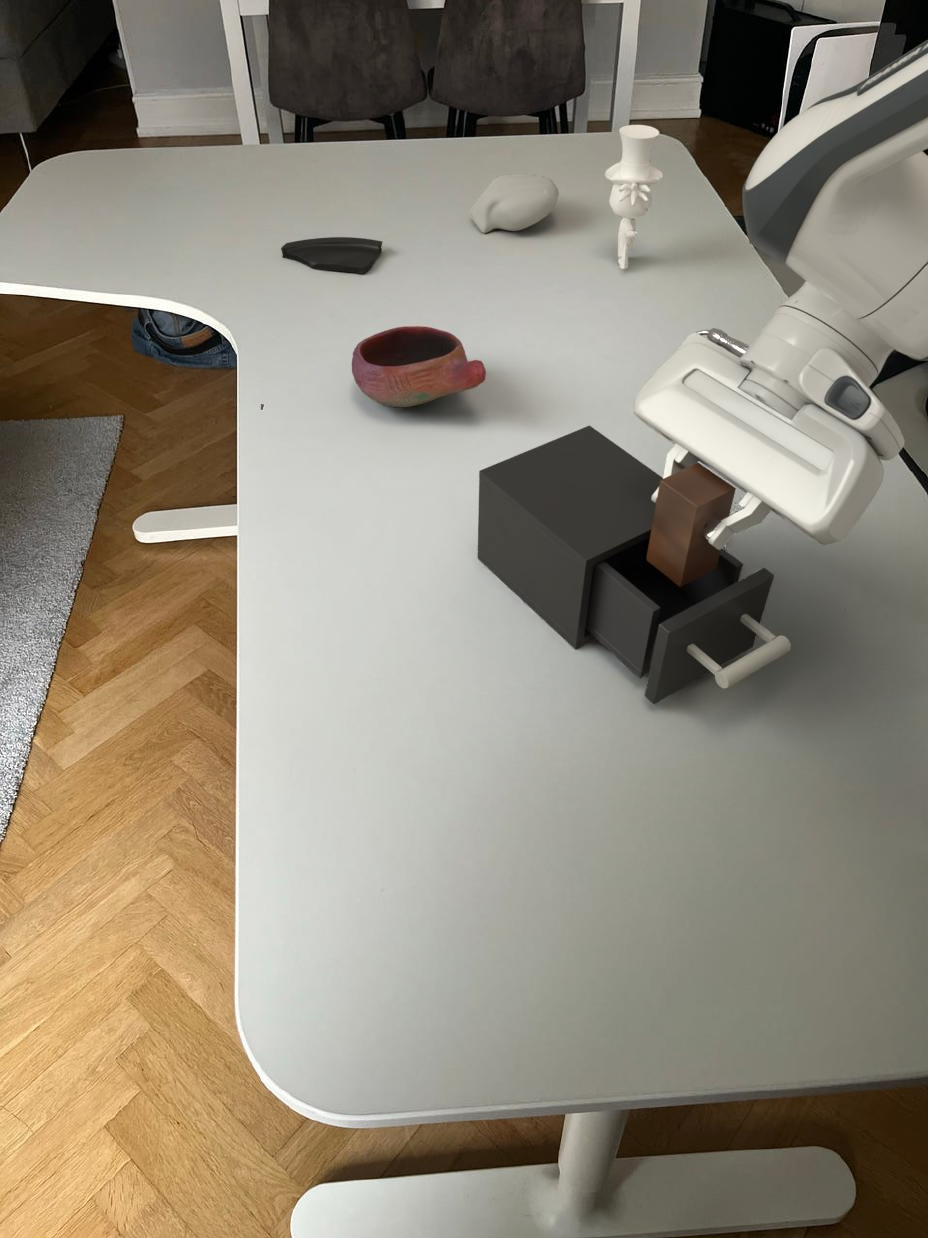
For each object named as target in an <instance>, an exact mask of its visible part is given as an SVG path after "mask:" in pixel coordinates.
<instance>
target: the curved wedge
mask: <svg viewBox="0 0 928 1238" xmlns="http://www.w3.org/2000/svg"><path fill="white" fill-rule="evenodd" d="M382 246H383V241H382V240H378V239H371V238H365V237H352V236H329V237H317V238H306V239H301V240H295V241H289V242H285V244H284V245H282V246H281V248H280V251H281V253H282V258H285V259H288V260H292V261H296V262H299V263H301V264H302V265H305V266H308V267H309V268H311V269H315V270H324V271H337V272H346V273H356V274H366V272H367V271H368V270H369V269H370V268H371V267H372V266H373V265H374V262H375V260H376V258H377V257H378V256H379V255H380V254H381V253H382Z"/></svg>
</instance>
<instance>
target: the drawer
mask: <svg viewBox="0 0 928 1238" xmlns="http://www.w3.org/2000/svg"><path fill="white" fill-rule="evenodd" d="M649 541H650V538H648V539H646V540H643V541H641V542H639V543H637V544H635V545H633V546H631V547H629V548H627V549H625V550H623V551H621V552H619V553H617V554H615V555H613V556H611V557H609V558H607V559H605V560H603V561H600V562H598V563H596V564H594V565H593V572H592V580H591V588H590V596H589V603H588V611H587V619H586V626H585V629H586V630H587V631H588V632H589V633H590V634H592V635H593V636H594V637H595V638H596V639H595V640H597V641H598V642H599V643H600V644H601V645H602V646H603V647H605V648H606V649H607V650H608V651H609V652H610V653H611V654H613V655H614V656H615V658H617V659H618V660H619V661H620V662H621V663H622V664H623V665H625V666H626V667H627V668H628V669H629V670H630V671H631V672H632V673H634V674H635V675H636V676H637V677H638V678H639V679H642V678H643V677H645V676H648V677H647V682H646V686H645V691H644V697H645V698H646V699H647V700H648V701H649V702H650V703H651V704H652V705H657V704H658V703H660V702H661V701H663V700H665V699H666V698H668V697H670V696H672V695H673V694H675V693H677V692H678V691H680V690H682V689H684V688H686V687H687V686H689V685H691V684H693V683H694V682H696V681H697V680H700V679H701V678H703V677H704V676H706V675H708V674H710V673H712V674H713V675H714V679H715V682H716V684H717V686H719V687H720V689H726V690H727V689H729V687H731V686H733V685H735V684H736V683H738V682H740V681H742V680H743V679H745V678H746V677H748V676H750V675H751V674H753V673H755V672H756V671H758V670H760V669H761V668H763V667H765V666H766V665H768V664H770V663H772V662H773V661H775V660H776V659H778V658H780V657H782V656H783V655H785V654H787V653H788V652H790V651H791V649H792V643H791V642H790V640H789V639H788V638H787V636H784V635H778V636H776V635H775V634H774V633H772V632H771V631H770V630H768V629H767V628H766V627H764V626H763V625H762V624H761V622H762V618H763V616H764V612H765V610H766V609H765V608H766V606H767V605H766V604H767V602H768V599H769V595H770V591H771V588H772V585H773V582H774V579H775V574H774V573H773V572H771V571H769V570H768V569H766V568H765V567H762V568H761V569H758V570H756V571H754V572H753V573H751V574H749V575H747V576H745V577H744V578H742V579H740V578H741V574H742V570H743V566H744V563H743V562H742V561H740V560H739V559H738V558H736V557H735V556H734V555H732V554H731V553H730V552H728V551H727V550H725V549H724V547H723V548H722V549H721V551H720V555H719V559H718V563H717V567H716V569H714V570H712V571H710V572H708V573H706V574H704V575H702V576H701V577H699V578H697V579H695V580H693V581H691V582H689V583H687V584H685V585H683V586H682V587H679V586H678V585H677V584H676V583H674V582H673V581H672V580H671V579H669V578H668V577H667V576H666V575H664V574H663V573H662V572H661V571H659V570H658V569H657V568H656V567H654V566H653V565H652V564H651V563H649V562H648V561H647V560H646V557H647V552H648V546H649ZM757 636H758V637H760V639H762V640H763V641H765V642H766V643H765V644H763V645H761V646H759V647H758V648H756V649H754V650H753V651H751V652H749V653H747V654H746V655H744V656H742V657H741V658H739V659H738V660H736V661H734V662H732V663H730V664H729V665H727V666H726V667H722V666H723V665H725V664H726V663H728V662H730V661H732V660H733V659H735V658H737V657H738V656H740V655H742V654H743V653H745V652H747V651H749V650H751V649H752V648H753V647H754V644H755V643H756V638H757Z"/></svg>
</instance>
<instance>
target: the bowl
mask: <svg viewBox="0 0 928 1238" xmlns="http://www.w3.org/2000/svg"><path fill="white" fill-rule="evenodd" d="M351 373H352V376H353V379H354V381H355V383H356V385H357V387H358V388H359V389H360V391H361V392H362V393H363V394H364V395H365V396H367V397H368V398H369V399H371V400H372V401H374V402H376V403H378V404H381V405H383V406H387V407H392V408H410V407H415V406H419V405H423V404H425V403H429V402H432V401H435V400H436V399H439V398H442V397H444V396H448V395H452V394H457V393H462V392H464V391H468V390H471V389H475V388H477V387H479V386H480V385H481V384H482V383H484V382H485V380H486V376H487V371H486V368H485V364H484V363H483V361H482V360H477V359H473V360H469V361H468V358H467V354H466V351H465V348H464V345H463V343H462V341H461V340H460V339H459V338H458V337H457V336H456V335H454V334H452V333H450V332H449V331H445V330H441V329H438V328H435V327H431V326H423V325H421V326H420V325H416V326H415V325H414V326H413V325H412V326H410V325H409V326H406V325H405V326H399V327H398V326H397V327H394V328H391V329H390V328H389V329H386V330H383V331H380V332H377V333H374V334H373V335H371V336H369V337H367V338H364V339H363V340H361V341H360V342H358V343H357V345H356V346H355V347H354V349H353V352H352V358H351Z"/></svg>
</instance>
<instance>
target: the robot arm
mask: <svg viewBox="0 0 928 1238" xmlns="http://www.w3.org/2000/svg"><path fill="white" fill-rule="evenodd" d="M925 150H928V39H926V40H925V41H924V42H921V43H920V44H918V45H917V46H915V47H914V48H912V49H911V50H909V51H907V52H906V53H905V54H902V56H900V57H898V58H897V59H895V60H893V61H891V63H889V64H887V65H886V66H883V68H881V69H880V70H879V69H878V71H876V72H874V73H873V74H871V75H869V76H868V77H867V78H865V79H863V80H862V81H860V82H858V83H856V84H854V85H853V86H850V87H848V88H846V89H844V90H842V91H839V92H836V93H834V94H831V95H827V96H825V97H823V98H821V99H820V100H818V101H816V102H814V103H813V104H812V105H810V106H809V107H808V108H806V109H804V110H803V111H801V112H800V113H799V114H798V115H796V116H794V117H793V118H791V120H789V121H788V122H787V123H786V124H784V126H783V127H781V129H779V131H777V133H776V134H775V135H773V137H772V139H770V140H769V142H768V143H767V144H766V145H765V146H764V148H763V150H762V151H761V152H760V154H759V155H758V156H757V158H756V160H755V161H754V164H753V165H752V168H751V170H750V172H749V174H748V176H747V178H746V179H745V181H744V183H743V186H742V189H741V191H742V193H741V195H742V198H741V199H742V211H743V220H744V224H745V228H746V229H745V230H746V233H747V234H746V235H747V238H748V242H749V244H750V245H752V246H753V247H755V249H758V250H759V251H761V252H762V253H764V254H765V255H766V256H768V257H770V258H771V259H773V260H774V261H775V262H777V263H779V264H780V265H781V266H783V267H788V268H789V269H791V270H792V271H793V272H795V274H797V275H798V276H799V277H801V278H802V279H803V280H804V283H803V284H802V285H801V286H800V288H798V290H796V292H795V293H793V294H792V295H790V296H789V297H787V298H786V299H785V300H784V301H783V302H782V303H781V304H780V306H779V307H778V308H777V309H776V311H775V312H774V313H773V315H772V316H771V317H770V318H769V320H768V321H767V323H766V324H765V325H764V326H763V328H762V329H761V330H760V331H759V333H758V334H757V335H756V336H755V338H754V340H753V341H752V342H751V344H750V345H749V344H746V343H744V342H743V341H741V340H739V339H736V338H733V337H732V336H729V335H728V333H727V332H725V331H723V330H722V329H719V328H716V327H712V328H711V329H702V330H698V331H695V332H691V333H690V334H689V335H688V336H687V337H686V338H685V339H684V340H683V342H682V343H681V344H680V346H679V348H677V350H676V351H675V353H674V354H672V355H671V356H670V357H669V358H668V359H667V360H666V361H665V362H664V363H663V364H662V365H661V366H660V367H659V368H658V369H657V371H655V373H654V374H653V375H652V376H651V377H649V379H648V381H647V382H646V383H645V384H644V385H643V386H642V388H640V390H639V391H638V392H637V394H636V395H635V397H634V399H633V401H634V402H633V414H634V415H635V416H636V417H637V418H638V420H640V421H641V422H642V423H643V424H645V425H646V426H647V427H649V428H650V429H651V430H652V431H654V432H656V433H657V434H659V435H660V436H661V437H663V438H665V439H666V440H668V441H669V442H670V443H672V444H673V446H672V447H671V449H670V450H669V451H668V453H667V454H666V458H665V463H664V469H663V474H662V478H663V479H664V478H666V477H668V476H670V475H673V474H675V473H677V472H679V471H681V470H683V469H686V468H688V467H690V466H692V465H694V464H696V463H700V464H702V465H703V466H706V468H707V469H708V468H709V470H710V471H711V470H712V472H713V473H715V474H716V475H718V476H719V477H721V478H722V479H724V480H725V481H728V483H729V484H731V485H732V486H734V487H735V488H738V489H739V490H741V491H742V492H744V493H745V495H744V496H743V497H742V498H741V500H740V501H739V502H738V505H739V506H740V507H741V509H740V510H739V511H737V512H735V513H733V514H730V515H729V517H727V518H725V519H723V520H721V521H719V520H718V519H716V518H715V517H714V516H713V517H712V518H711V519H710V521H709V522H708V523H707V526H706V527H704V528H703V530H702V531H701V533H700V536H701V537H702V538H703V539H704V540H706V541H707V542H708V543H710V544H711V545H712V546H714V547H715V548H716V549H718V550H720V549H722V548H723V549H724V547H726V545H727V543H729V541H730V540H731V539H732V538H733V536H735V534H738V533H741V532H743V531H746V530H748V529H750V528H752V527H754V526H757V525H759V524H761V523H763V521H764V520H765V518H766V517H767V516H768V515H769V513H771V512H773V513H775V514H776V515H777V516H778V517H780V518H782V520H785V521H786V522H788V523H789V524H790V525H792V526H794V527H795V528H796V529H798V530H799V531H801V532H802V533H804V534H805V535H807V536H808V537H810V538H811V539H812V540H814V541H816V542H817V543H819V544H820V545H821V546H828V545H832V544H834V543H837V542H840V541H842V540H843V539H844V538H845V537H846V536H848V534H849V533H850V532H851V530H852V529H853V528H854V527H855V526H856V524H857V523H858V521H859V520H860V519H861V518H862V516H863V514H864V513H865V512H866V511H867V509H868V507H869V506H870V504H871V503H872V501H873V499H874V498H875V497H876V495H877V493H878V492H879V490H880V487H881V486H882V484H883V480H884V476H885V468H884V464H883V462H882V461H886V462H887V461H891V460H893V459H894V458H895V457H896V456H897V455H898V454H899V453H901V451H902V450H903V448H904V446H905V438H904V435H903V433H902V431H901V429H900V427H899V425H898V423H897V422H896V420H895V418H894V417H893V416H892V414H891V413H890V412H889V410H888V409H887V407H886V406H885V405H884V404H883V402H882V400H881V399H880V397H879V395H878V394H877V393H876V392H875V390H873V389H872V388H871V387H870V386H871V385H872V384H873V383H874V382H875V381H876V379H877V378H878V377H879V375H880V373H881V371H882V370H883V367H884V365H885V364H886V361H887V359H888V358H889V356H890V355H891V354H892V352H895V351H896V352H898V353H900V354H902V355H905V356H907V357H909V358H910V359H912V360H915V361H919V362H921V361H922V362H923V361H924V362H925V361H928V155H927V154H926V153H925V152H924V151H925ZM705 336H706V337H705ZM658 490H659V487H658V488H657V490H656V491H655V492H654V494H653V495H652V498H651V500H652V501H653V502H655V503H656V501H657V496H658Z"/></svg>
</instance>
